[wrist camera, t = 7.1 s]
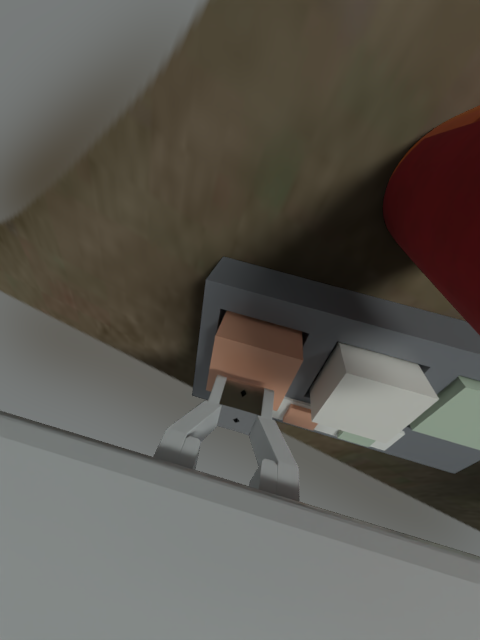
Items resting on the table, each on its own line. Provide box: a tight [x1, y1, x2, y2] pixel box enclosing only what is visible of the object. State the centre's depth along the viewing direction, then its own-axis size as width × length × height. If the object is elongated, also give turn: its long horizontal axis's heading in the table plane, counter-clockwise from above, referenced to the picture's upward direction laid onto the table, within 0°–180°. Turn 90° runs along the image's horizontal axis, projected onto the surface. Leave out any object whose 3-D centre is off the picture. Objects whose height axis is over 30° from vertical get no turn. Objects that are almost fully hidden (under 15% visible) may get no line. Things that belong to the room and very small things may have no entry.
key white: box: [310, 342, 439, 443], centre depth 13 cm, size 4×4×2 cm
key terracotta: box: [206, 311, 303, 411], centre depth 13 cm, size 4×4×2 cm
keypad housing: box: [192, 257, 480, 474], centre depth 15 cm, size 20×10×4 cm, turn 78°
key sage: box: [409, 375, 480, 450], centre depth 14 cm, size 4×4×2 cm
